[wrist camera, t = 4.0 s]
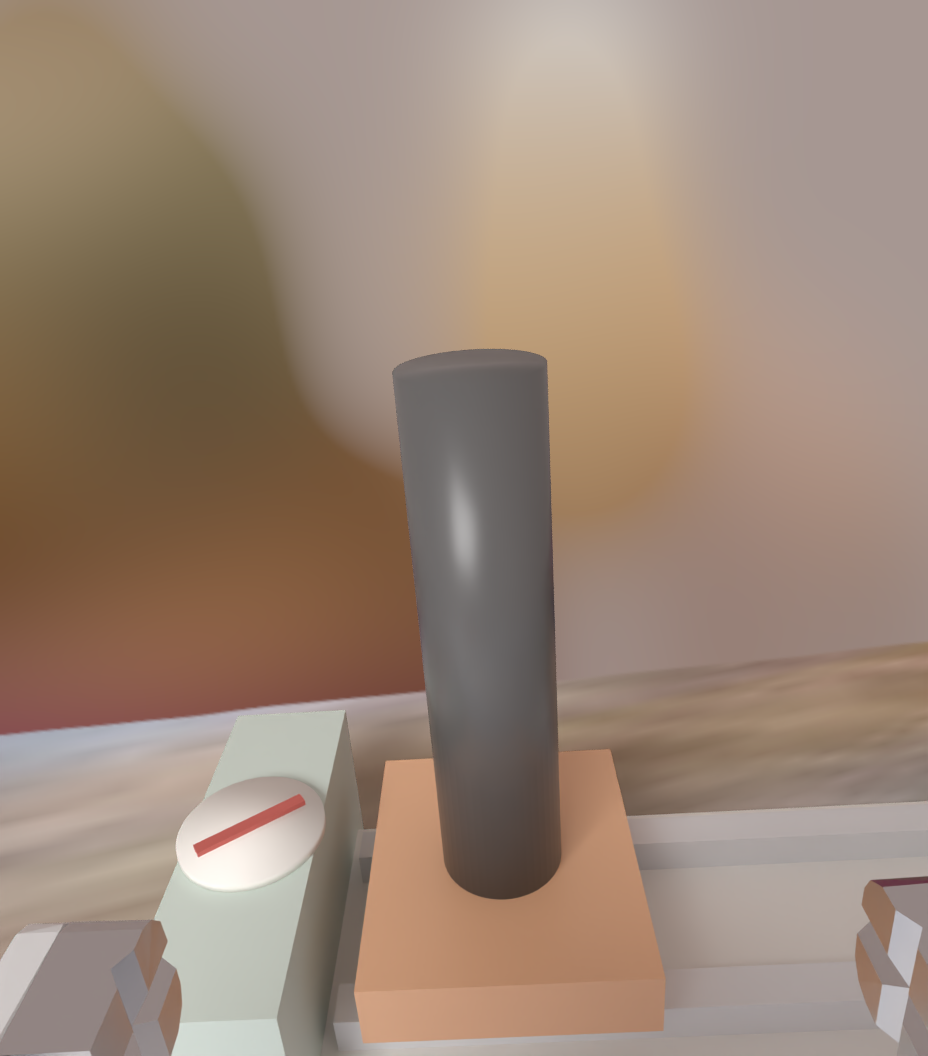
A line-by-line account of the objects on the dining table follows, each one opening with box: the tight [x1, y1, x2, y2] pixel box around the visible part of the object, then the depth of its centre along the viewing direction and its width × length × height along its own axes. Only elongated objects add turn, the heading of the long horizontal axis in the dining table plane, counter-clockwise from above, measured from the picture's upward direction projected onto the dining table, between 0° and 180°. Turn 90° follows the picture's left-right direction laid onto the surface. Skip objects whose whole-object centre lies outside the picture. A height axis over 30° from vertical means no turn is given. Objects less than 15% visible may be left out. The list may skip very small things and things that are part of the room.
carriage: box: [354, 349, 666, 1043], centre depth 23 cm, size 8×9×17 cm
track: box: [154, 710, 928, 1056], centre depth 26 cm, size 34×12×6 cm, turn 90°
